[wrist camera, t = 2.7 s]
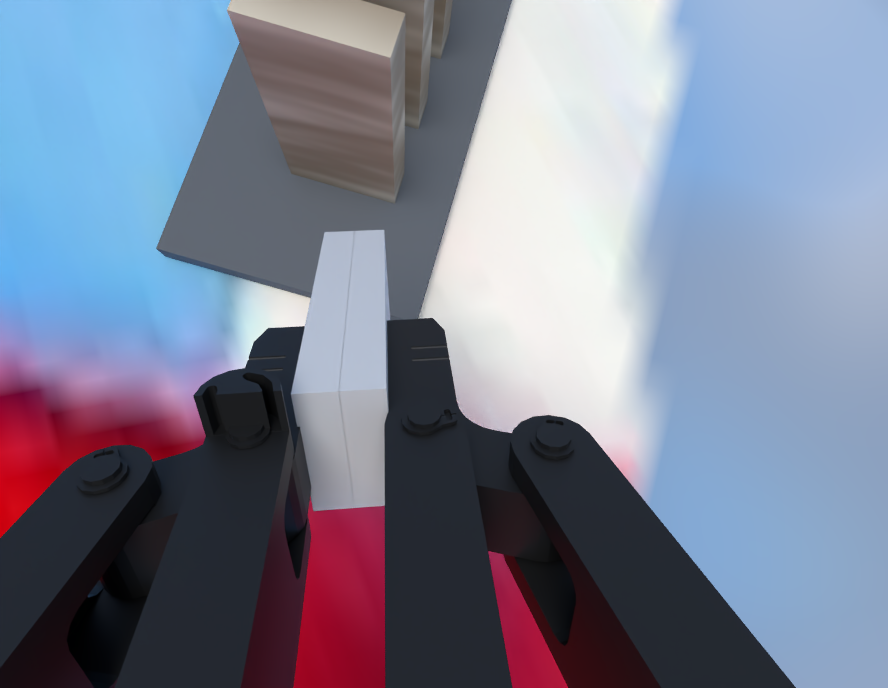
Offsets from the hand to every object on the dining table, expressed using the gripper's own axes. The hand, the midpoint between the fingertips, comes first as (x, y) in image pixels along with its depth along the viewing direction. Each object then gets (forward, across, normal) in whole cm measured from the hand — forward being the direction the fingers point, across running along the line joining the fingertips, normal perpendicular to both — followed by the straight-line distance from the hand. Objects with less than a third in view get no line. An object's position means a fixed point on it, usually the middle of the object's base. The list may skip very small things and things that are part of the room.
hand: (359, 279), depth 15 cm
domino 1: (+14, -1, -1) cm, 14 cm away
